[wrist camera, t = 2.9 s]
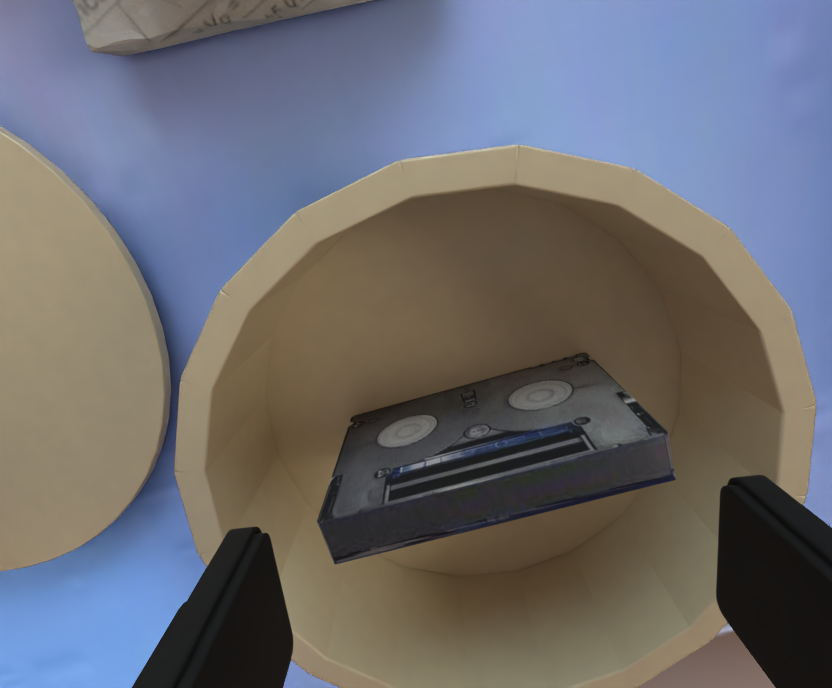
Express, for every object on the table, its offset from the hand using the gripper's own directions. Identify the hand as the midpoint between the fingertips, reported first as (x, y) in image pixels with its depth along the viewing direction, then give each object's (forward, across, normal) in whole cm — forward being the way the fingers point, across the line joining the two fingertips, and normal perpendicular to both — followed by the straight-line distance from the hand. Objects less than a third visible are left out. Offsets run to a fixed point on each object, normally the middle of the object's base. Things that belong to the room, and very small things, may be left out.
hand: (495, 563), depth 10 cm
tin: (+8, 0, 0) cm, 8 cm away
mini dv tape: (+7, 0, 0) cm, 8 cm away
